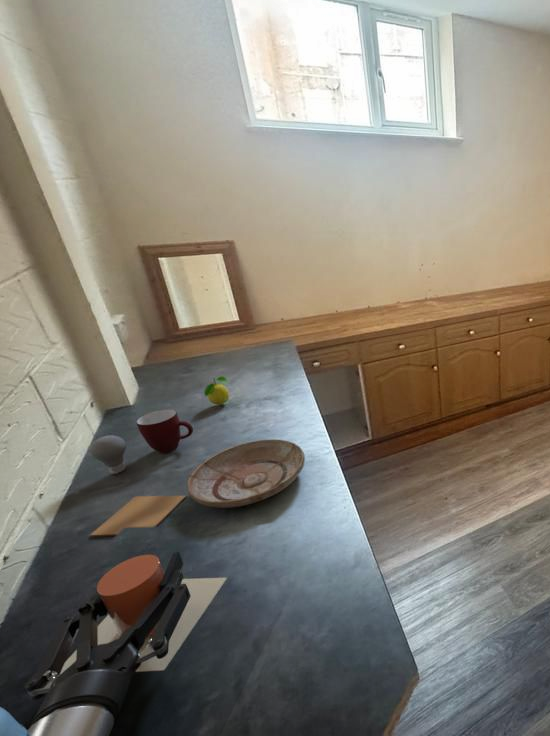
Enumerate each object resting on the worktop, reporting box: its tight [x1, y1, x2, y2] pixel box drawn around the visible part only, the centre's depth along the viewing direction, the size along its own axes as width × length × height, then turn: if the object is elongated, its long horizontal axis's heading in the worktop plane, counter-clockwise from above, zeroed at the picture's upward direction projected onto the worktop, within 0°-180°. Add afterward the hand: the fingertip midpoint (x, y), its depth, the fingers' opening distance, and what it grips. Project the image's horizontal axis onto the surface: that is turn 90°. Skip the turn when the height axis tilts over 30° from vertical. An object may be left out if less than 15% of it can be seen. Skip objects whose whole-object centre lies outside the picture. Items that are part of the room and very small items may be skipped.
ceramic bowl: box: [186, 438, 306, 509], centre depth 94 cm, size 23×24×5 cm
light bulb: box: [90, 434, 127, 475], centre depth 96 cm, size 6×6×10 cm
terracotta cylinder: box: [96, 554, 165, 638], centre depth 62 cm, size 7×7×10 cm
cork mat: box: [89, 495, 187, 538], centre depth 85 cm, size 11×11×1 cm
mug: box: [136, 408, 194, 454], centre depth 106 cm, size 10×8×10 cm
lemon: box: [204, 376, 230, 406], centre depth 128 cm, size 7×6×10 cm
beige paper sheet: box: [60, 577, 228, 674], centre depth 64 cm, size 15×15×1 cm
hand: (149, 565), depth 65 cm, fingers closed on terracotta cylinder, 7 cm apart
